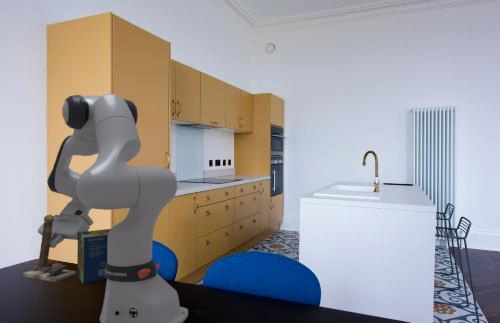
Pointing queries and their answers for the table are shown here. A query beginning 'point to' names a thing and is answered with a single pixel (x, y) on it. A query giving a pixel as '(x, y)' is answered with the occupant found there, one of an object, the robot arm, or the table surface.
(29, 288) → the table surface
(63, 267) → the block
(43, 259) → the lever
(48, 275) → the board
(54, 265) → the button
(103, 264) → the protein box
